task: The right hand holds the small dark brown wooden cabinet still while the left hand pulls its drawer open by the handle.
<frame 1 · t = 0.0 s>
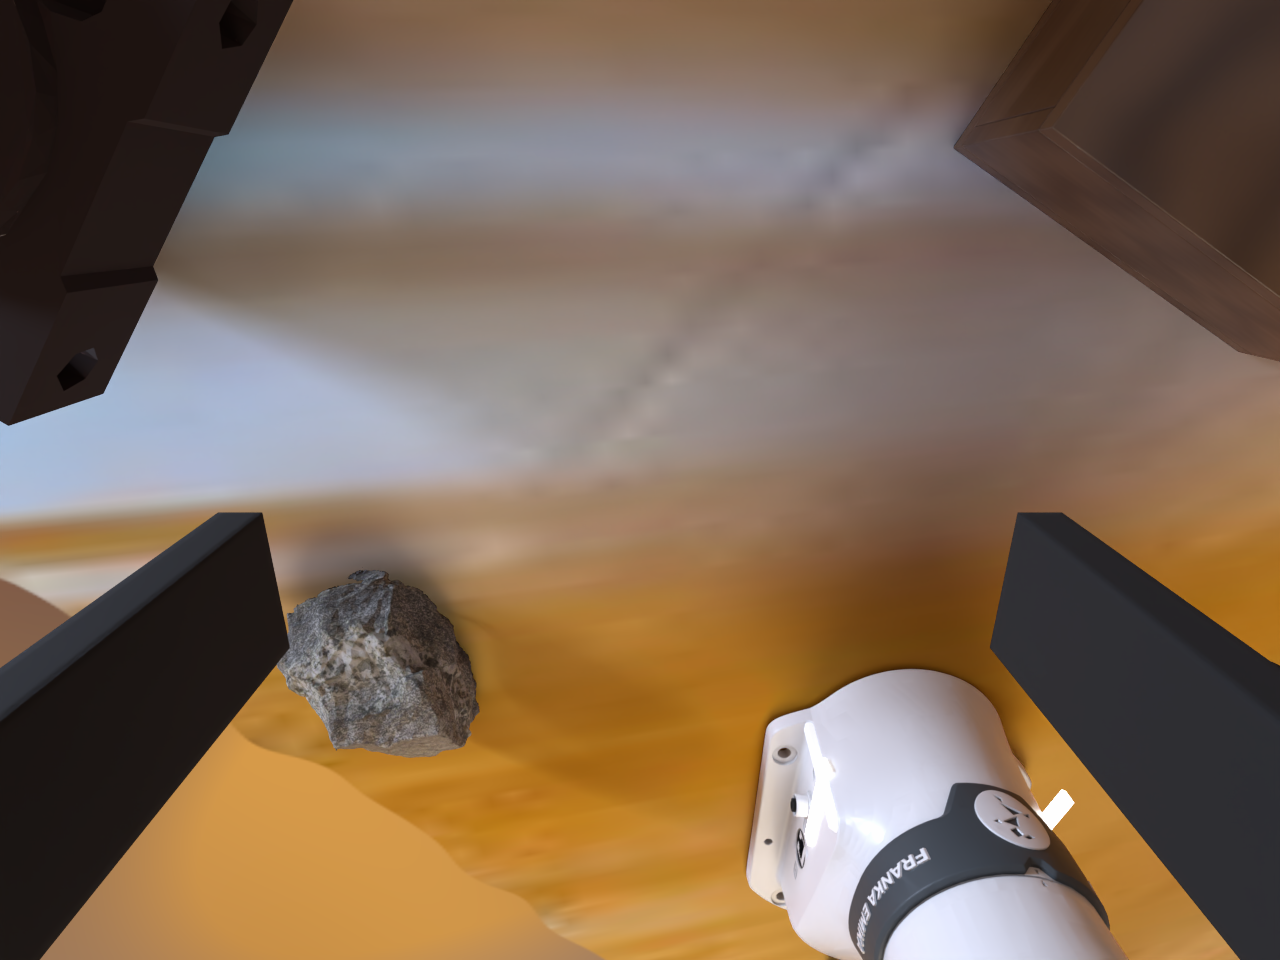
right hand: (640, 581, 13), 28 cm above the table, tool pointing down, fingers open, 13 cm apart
rock: (402, 640, 46), on the table
cabinet: (1173, 163, 36), on the table
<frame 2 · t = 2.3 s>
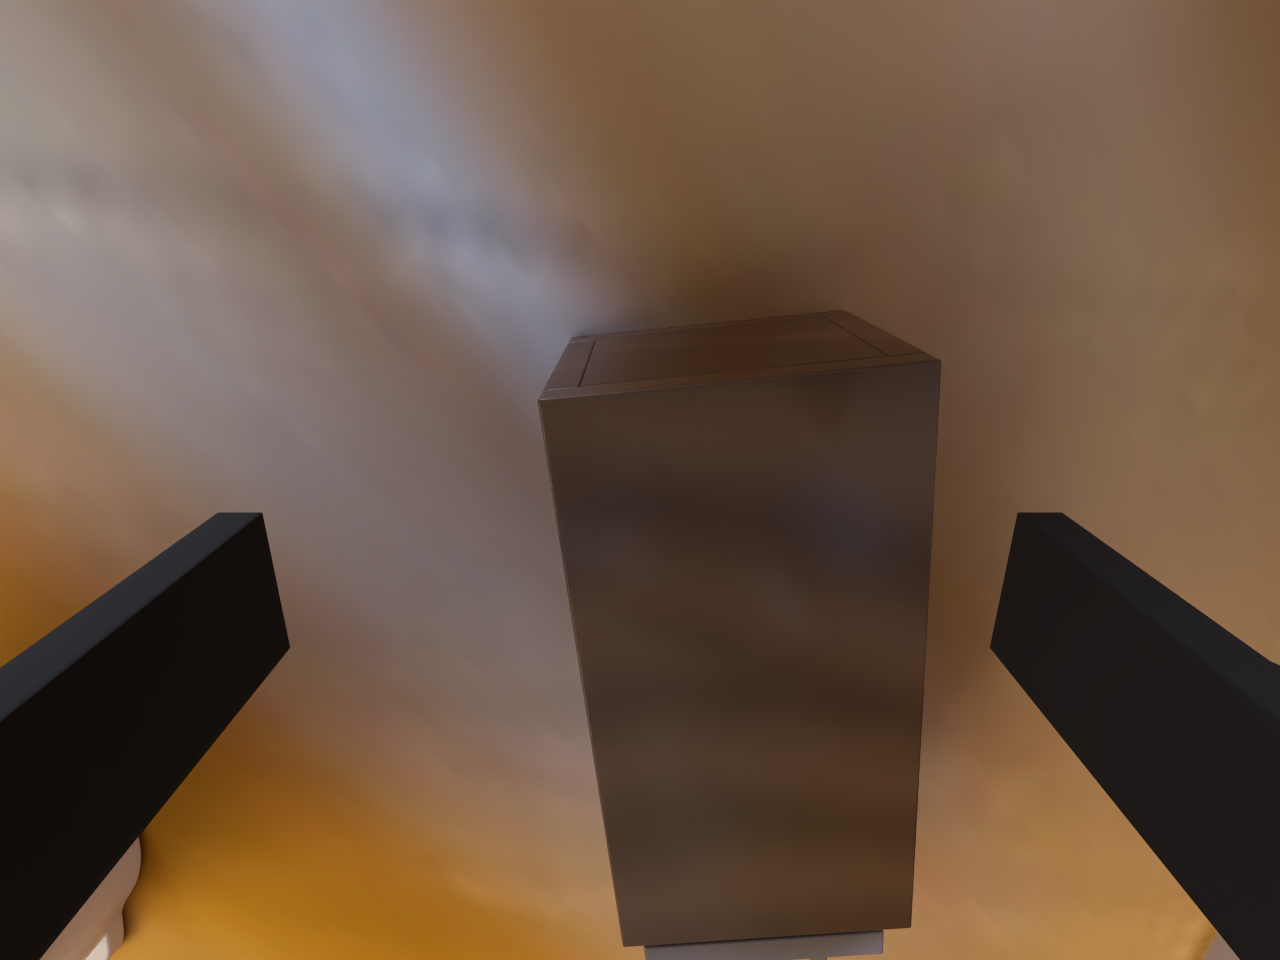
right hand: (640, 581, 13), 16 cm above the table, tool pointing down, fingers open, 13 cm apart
drawer: (743, 758, 28), point 5 cm above the table, slide at 1.5 cm
cabinet: (722, 564, 30), on the table
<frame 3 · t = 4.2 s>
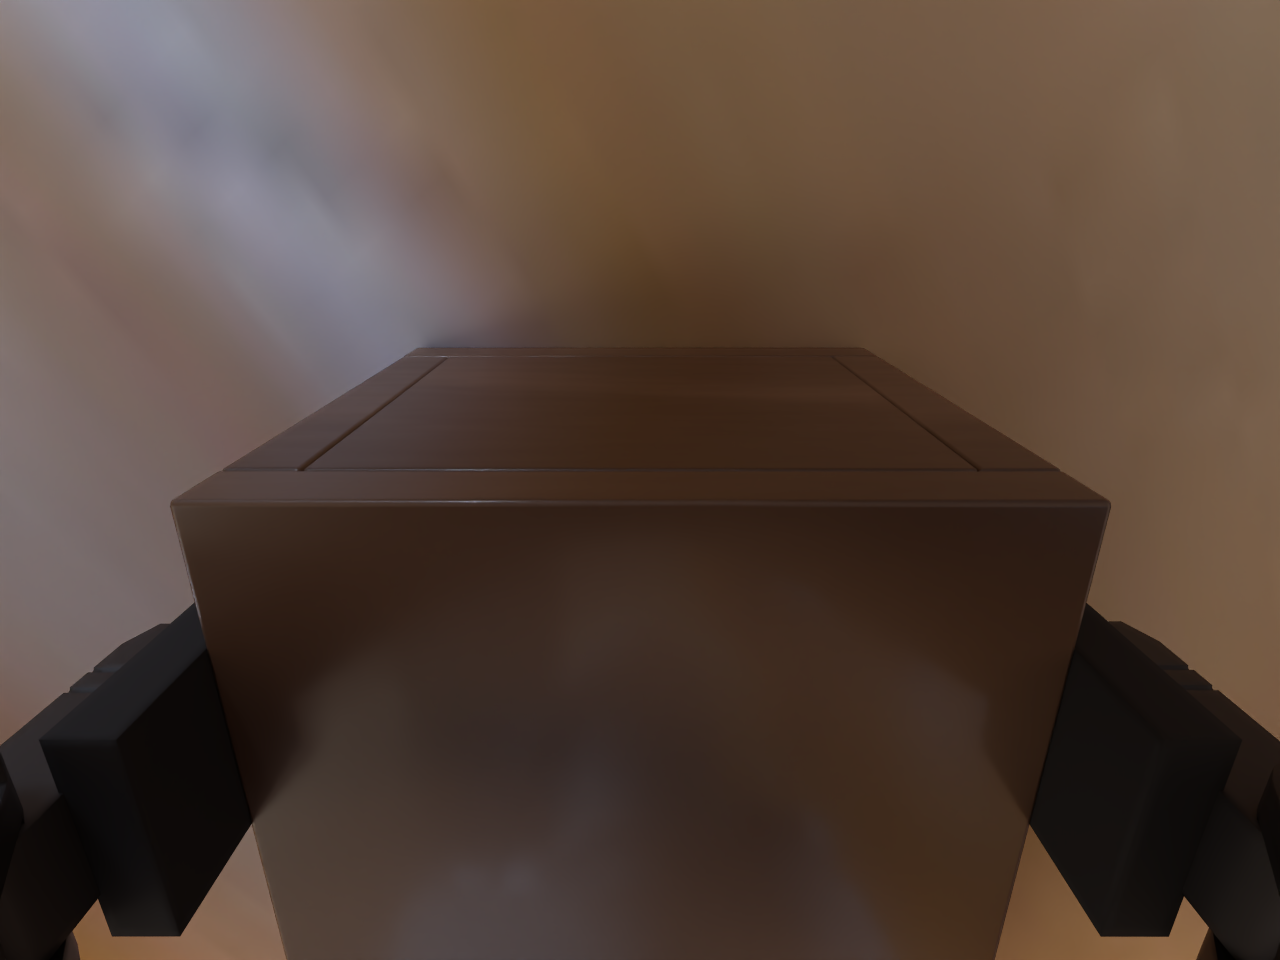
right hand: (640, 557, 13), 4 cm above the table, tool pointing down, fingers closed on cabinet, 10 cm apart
cabinet: (640, 710, 20), on the table, touching right hand
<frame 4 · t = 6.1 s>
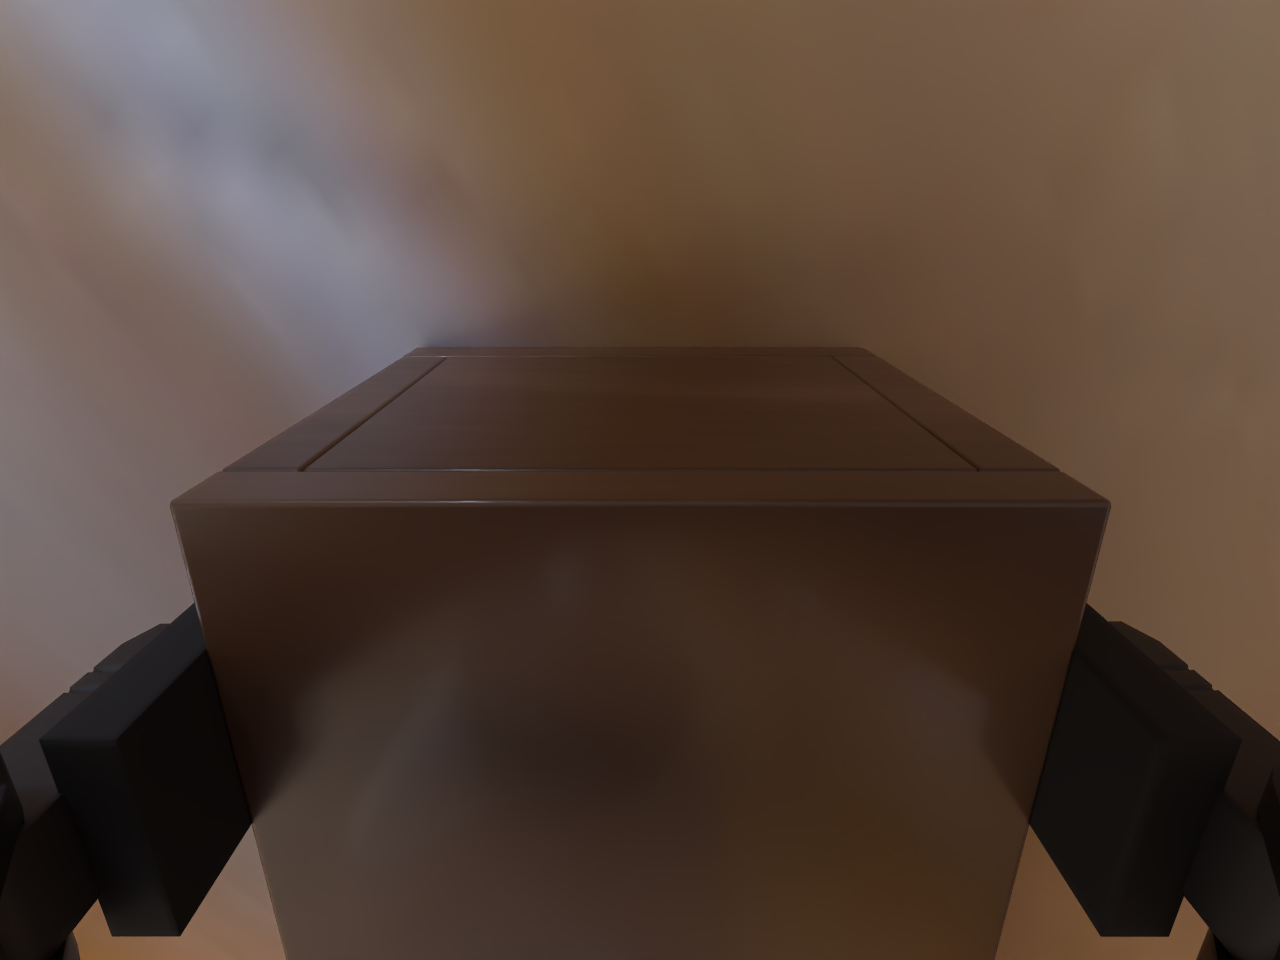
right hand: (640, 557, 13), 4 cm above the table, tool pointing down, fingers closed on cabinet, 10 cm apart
cabinet: (640, 710, 20), on the table, touching right hand
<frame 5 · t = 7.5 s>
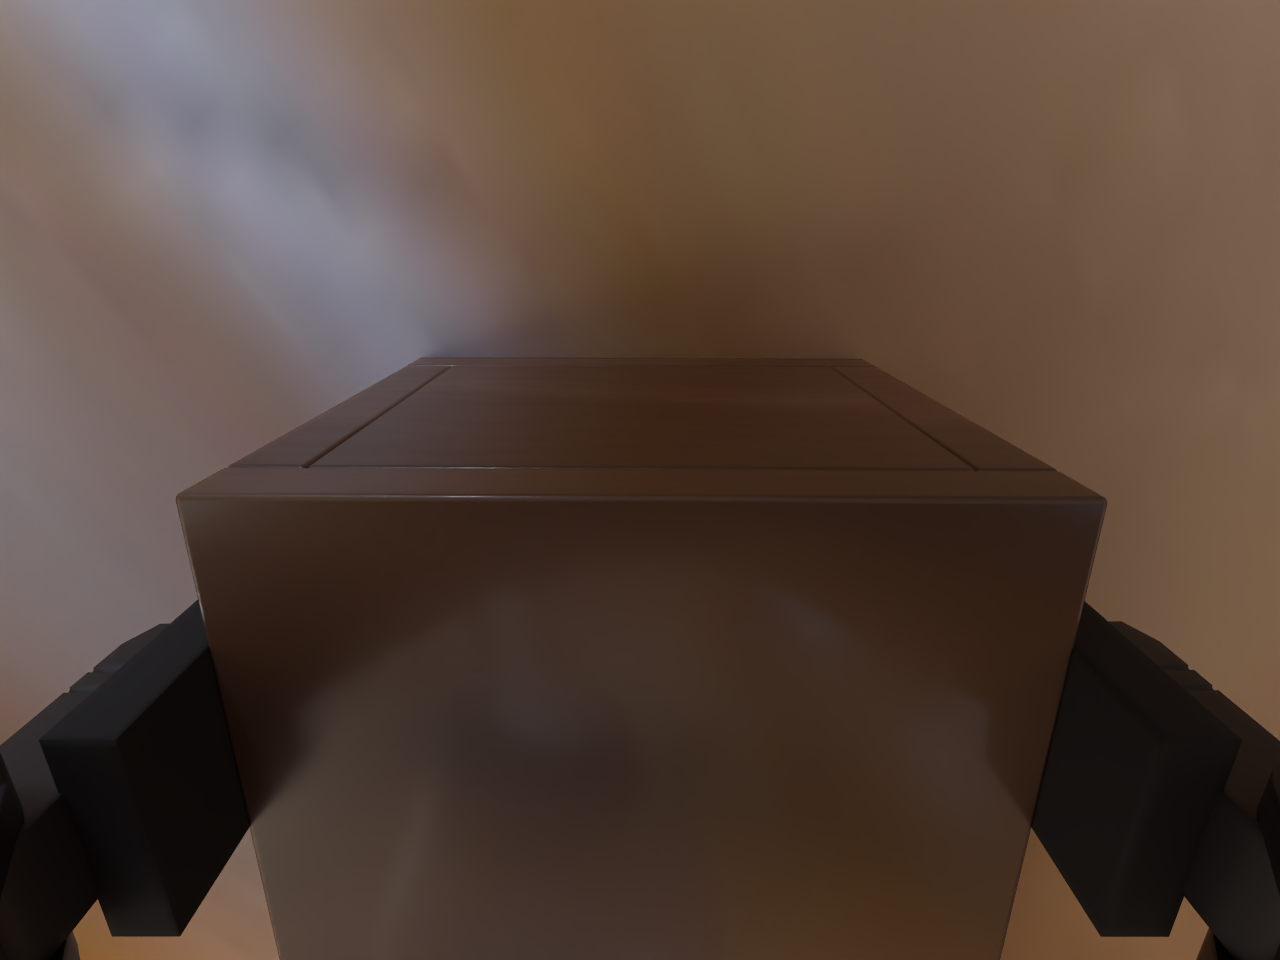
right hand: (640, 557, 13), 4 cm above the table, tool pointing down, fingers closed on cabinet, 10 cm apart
cabinet: (640, 723, 20), on the table, touching right hand
when the right hand's fingers open (4 cm above the table, at t = 8.6 s): cabinet stays where it is, on the table.
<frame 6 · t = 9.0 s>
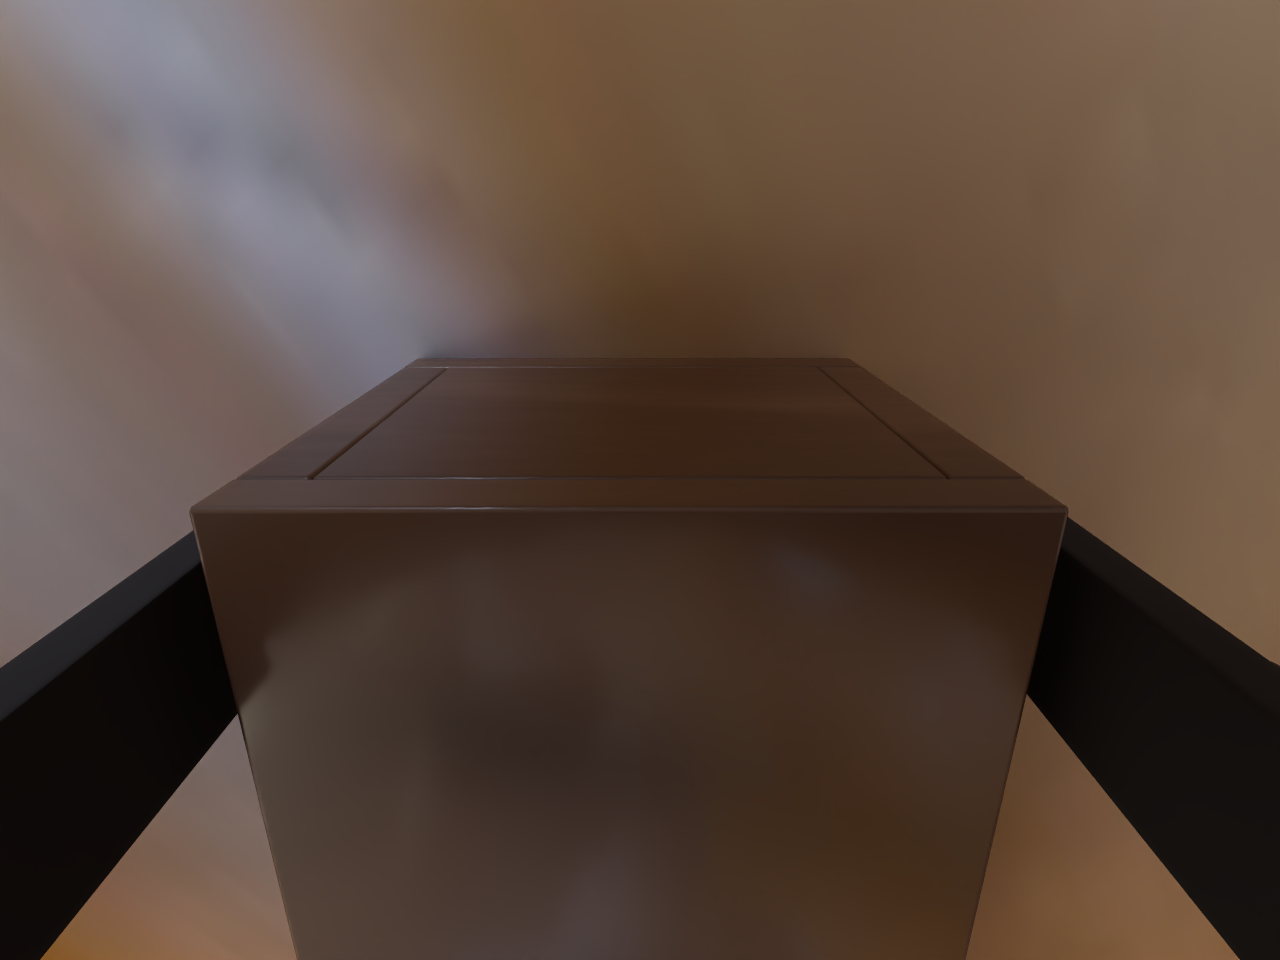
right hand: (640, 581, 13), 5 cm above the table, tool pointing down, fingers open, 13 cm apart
cabinet: (634, 711, 20), on the table
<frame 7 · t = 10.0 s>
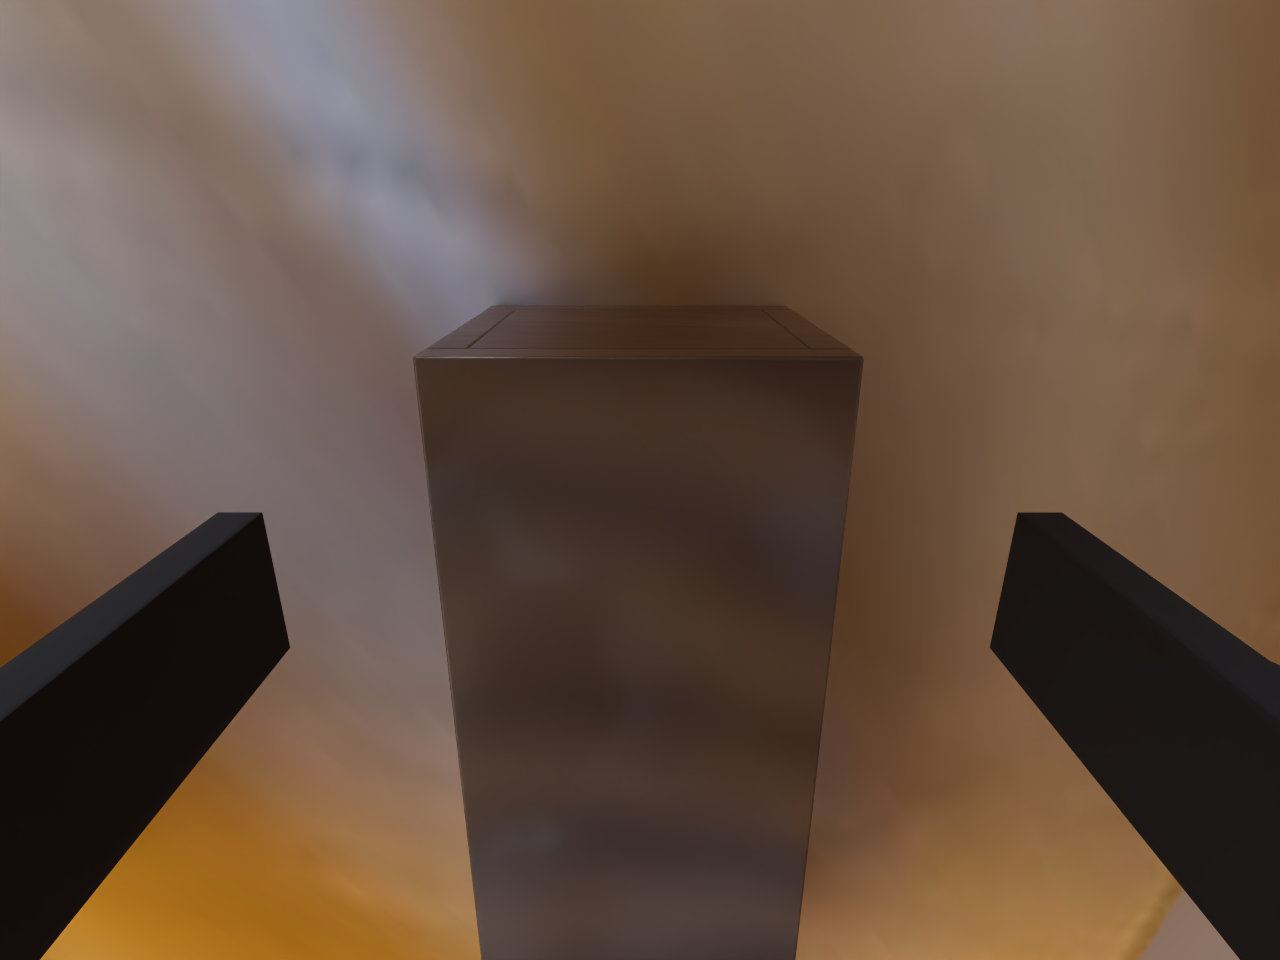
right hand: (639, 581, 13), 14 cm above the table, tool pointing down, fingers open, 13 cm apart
cabinet: (638, 566, 28), on the table
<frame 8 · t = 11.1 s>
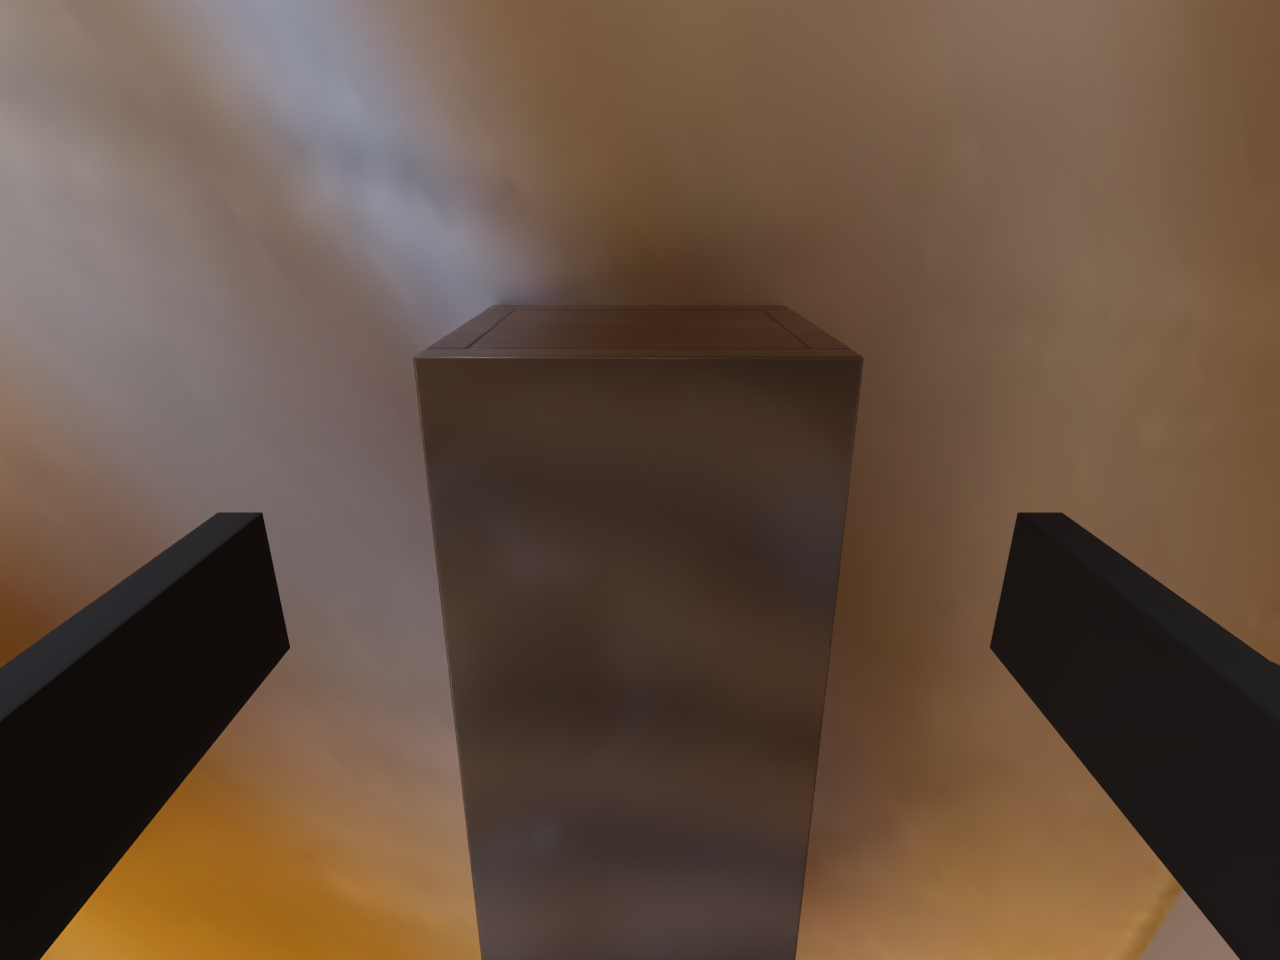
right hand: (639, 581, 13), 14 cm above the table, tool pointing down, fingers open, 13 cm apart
cabinet: (638, 566, 28), on the table
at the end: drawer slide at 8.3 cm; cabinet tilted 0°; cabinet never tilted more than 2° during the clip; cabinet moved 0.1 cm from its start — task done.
